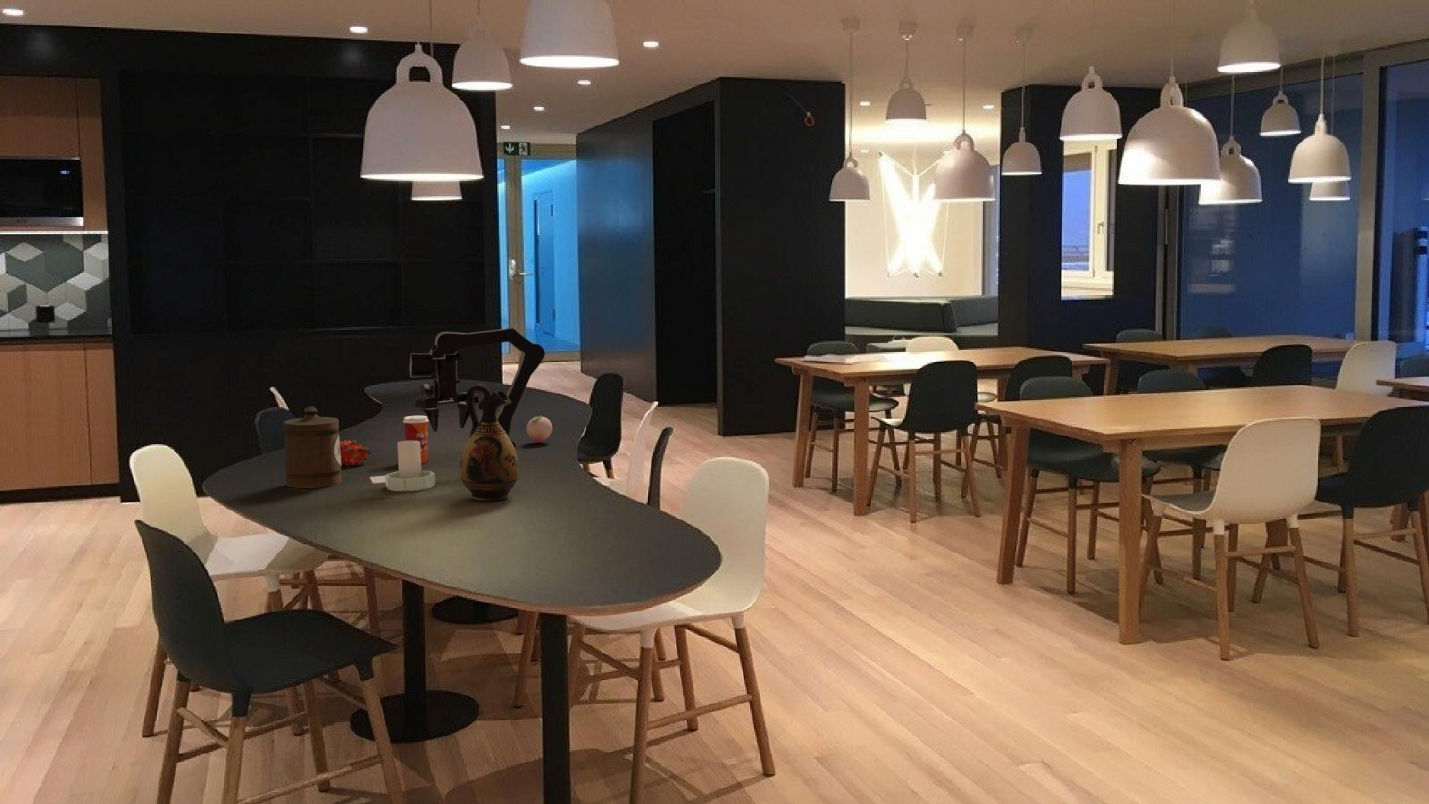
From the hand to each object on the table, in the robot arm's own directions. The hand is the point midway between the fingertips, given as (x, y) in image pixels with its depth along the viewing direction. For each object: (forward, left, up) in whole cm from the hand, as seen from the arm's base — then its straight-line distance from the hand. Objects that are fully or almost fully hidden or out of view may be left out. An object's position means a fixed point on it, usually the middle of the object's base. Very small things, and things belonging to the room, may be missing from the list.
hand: (448, 429), depth 360 cm
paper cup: (+21, -14, -13) cm, 29 cm away
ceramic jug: (-28, +25, -13) cm, 40 cm away
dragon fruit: (+38, -4, -13) cm, 41 cm away
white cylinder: (0, +19, -13) cm, 23 cm away
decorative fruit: (+2, -56, -13) cm, 58 cm away
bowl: (0, +19, -13) cm, 24 cm away
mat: (+13, +12, -13) cm, 22 cm away
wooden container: (+29, +24, -13) cm, 40 cm away
